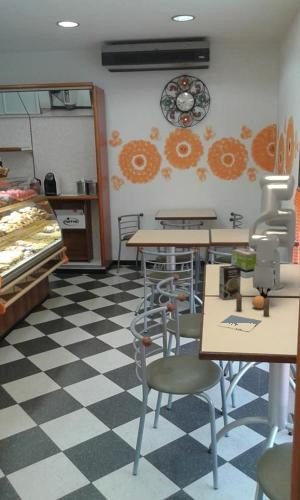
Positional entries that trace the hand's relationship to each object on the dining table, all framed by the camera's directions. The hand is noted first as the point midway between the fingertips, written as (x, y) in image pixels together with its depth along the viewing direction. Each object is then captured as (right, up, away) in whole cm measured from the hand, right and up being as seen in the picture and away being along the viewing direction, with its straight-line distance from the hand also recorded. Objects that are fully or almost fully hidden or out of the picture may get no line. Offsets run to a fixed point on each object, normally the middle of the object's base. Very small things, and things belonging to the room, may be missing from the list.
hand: (263, 300), depth 202 cm
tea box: (+3, +9, +55) cm, 56 cm away
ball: (-3, 0, -5) cm, 6 cm away
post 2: (-3, -5, -14) cm, 15 cm away
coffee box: (-14, 0, +13) cm, 19 cm away
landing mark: (-16, -7, -21) cm, 28 cm away
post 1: (-13, -4, -6) cm, 15 cm away
